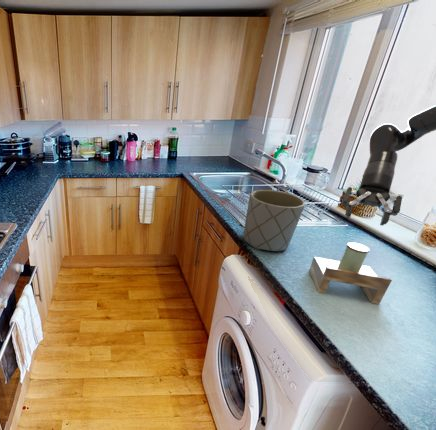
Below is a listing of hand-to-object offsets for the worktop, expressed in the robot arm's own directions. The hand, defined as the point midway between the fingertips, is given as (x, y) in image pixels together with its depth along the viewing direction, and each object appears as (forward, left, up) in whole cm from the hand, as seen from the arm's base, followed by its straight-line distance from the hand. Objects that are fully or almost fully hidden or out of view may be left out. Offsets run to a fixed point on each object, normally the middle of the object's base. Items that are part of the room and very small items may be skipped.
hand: (365, 220), depth 92 cm
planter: (+24, -13, -21) cm, 34 cm away
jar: (+3, +9, -14) cm, 17 cm away
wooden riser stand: (+3, +9, -20) cm, 22 cm away
